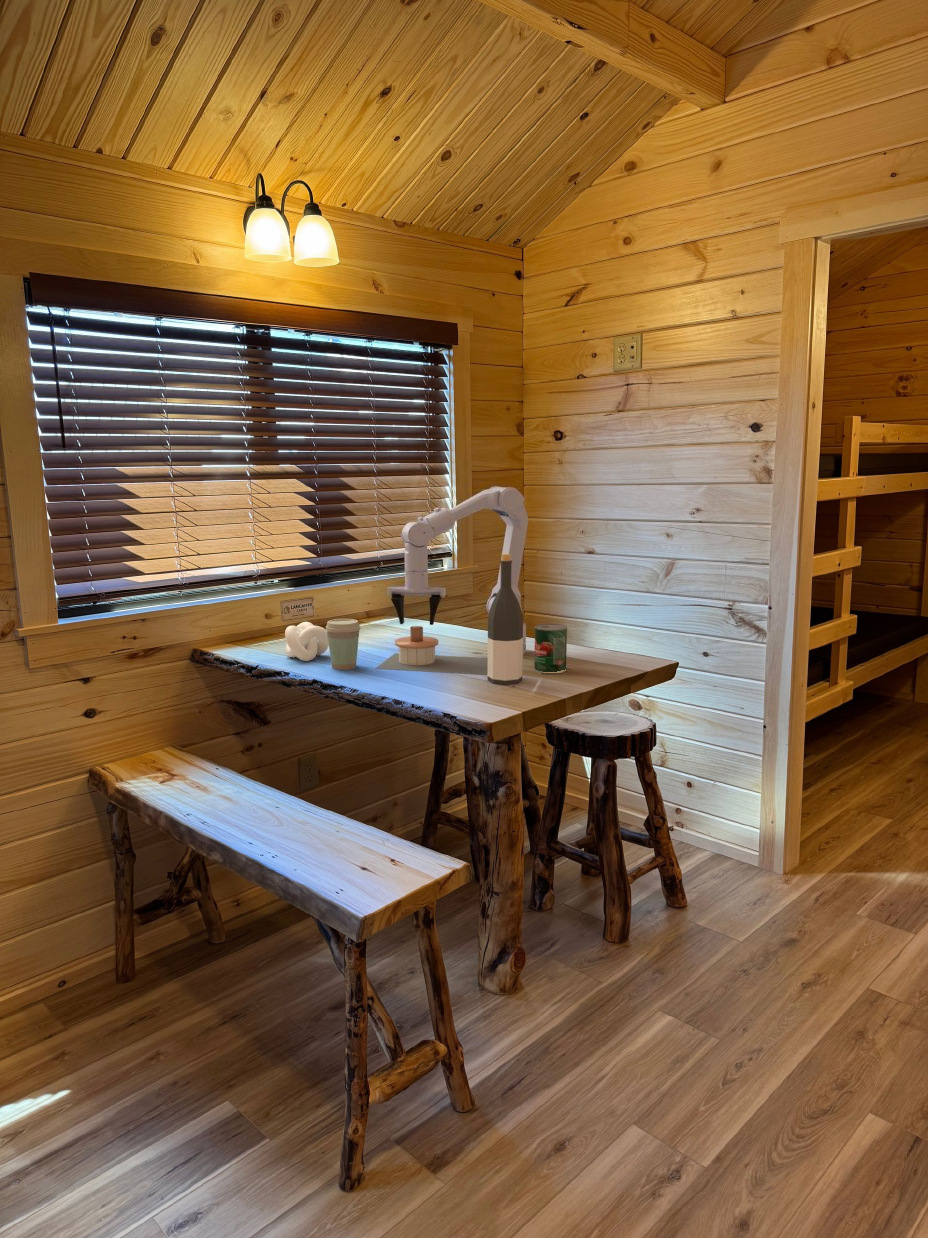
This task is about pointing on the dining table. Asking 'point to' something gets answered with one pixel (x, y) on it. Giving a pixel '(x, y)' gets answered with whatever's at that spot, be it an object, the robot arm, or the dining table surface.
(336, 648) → the coffee cup
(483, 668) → the mat
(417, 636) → the lid
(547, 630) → the canned tomato
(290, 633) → the white knot sculpture
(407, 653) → the bowl
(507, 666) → the wine bottle
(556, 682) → the dining table surface
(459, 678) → the dining table surface
